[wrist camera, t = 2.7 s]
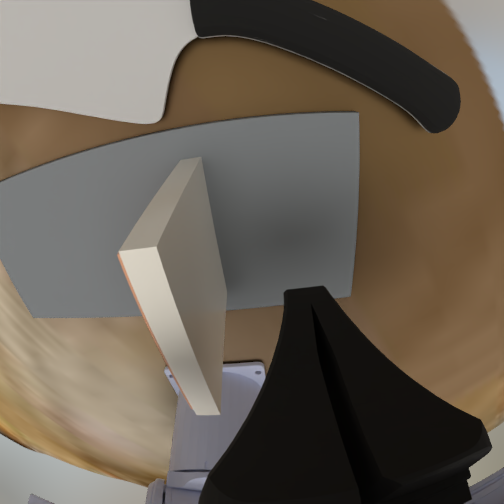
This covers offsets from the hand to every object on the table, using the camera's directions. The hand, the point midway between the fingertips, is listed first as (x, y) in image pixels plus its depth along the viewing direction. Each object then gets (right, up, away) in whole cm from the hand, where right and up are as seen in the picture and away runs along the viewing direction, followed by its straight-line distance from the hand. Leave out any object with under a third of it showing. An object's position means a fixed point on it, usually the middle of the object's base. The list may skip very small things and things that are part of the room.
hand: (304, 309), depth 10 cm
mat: (-8, +3, +6) cm, 11 cm away
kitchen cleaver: (-7, +12, 0) cm, 14 cm away
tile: (-4, +3, +5) cm, 8 cm away
